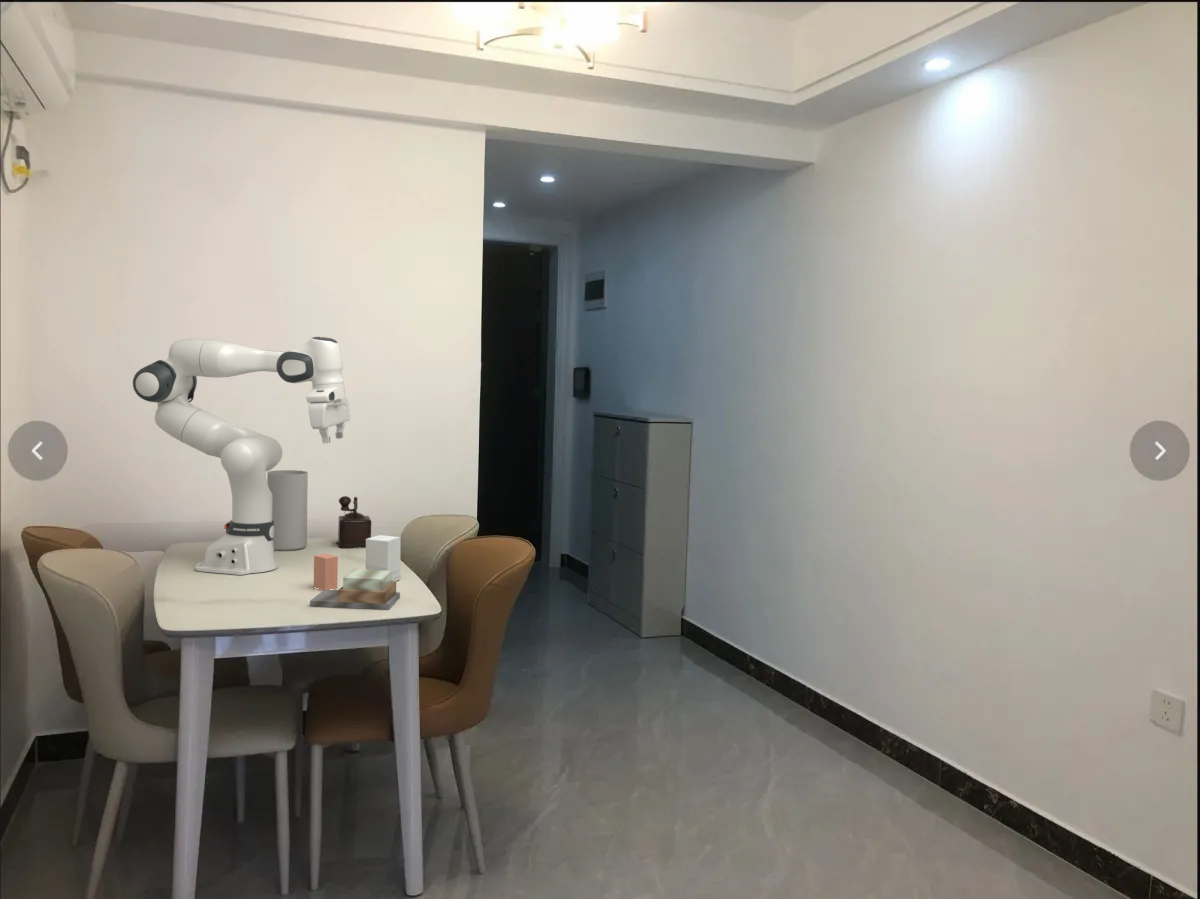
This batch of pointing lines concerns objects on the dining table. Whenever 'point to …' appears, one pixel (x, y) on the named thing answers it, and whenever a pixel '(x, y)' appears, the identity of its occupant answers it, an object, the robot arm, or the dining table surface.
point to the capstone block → (325, 571)
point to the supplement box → (384, 554)
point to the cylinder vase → (289, 508)
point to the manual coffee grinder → (352, 526)
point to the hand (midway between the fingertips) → (333, 440)
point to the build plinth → (333, 598)
